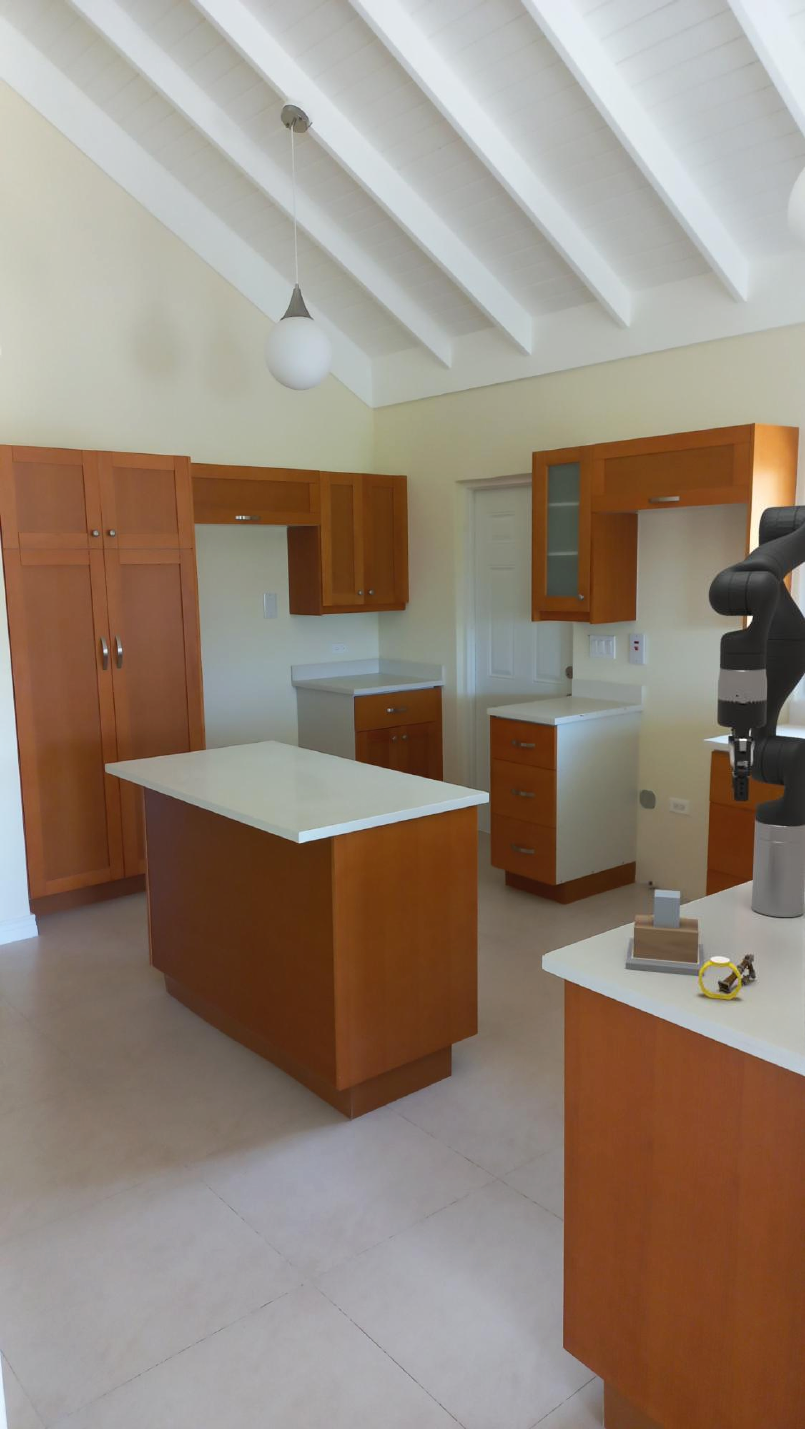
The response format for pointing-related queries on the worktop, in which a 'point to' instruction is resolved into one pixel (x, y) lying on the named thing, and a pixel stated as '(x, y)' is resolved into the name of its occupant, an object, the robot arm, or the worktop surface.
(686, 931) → the walnut block
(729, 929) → the worktop surface
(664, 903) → the gray block
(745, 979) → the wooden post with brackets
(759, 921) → the worktop surface
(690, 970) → the build pad
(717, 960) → the watch
